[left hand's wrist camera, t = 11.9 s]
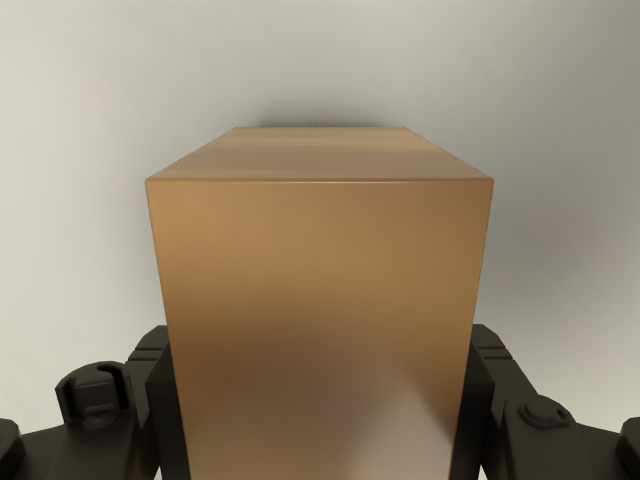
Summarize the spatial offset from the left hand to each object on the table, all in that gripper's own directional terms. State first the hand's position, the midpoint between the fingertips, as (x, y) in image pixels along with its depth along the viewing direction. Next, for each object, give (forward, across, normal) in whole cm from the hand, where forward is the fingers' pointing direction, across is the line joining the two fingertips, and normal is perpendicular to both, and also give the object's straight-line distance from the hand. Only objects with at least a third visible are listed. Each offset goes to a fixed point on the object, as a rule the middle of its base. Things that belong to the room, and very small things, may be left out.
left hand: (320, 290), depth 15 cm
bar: (+1, 0, -18) cm, 19 cm away
